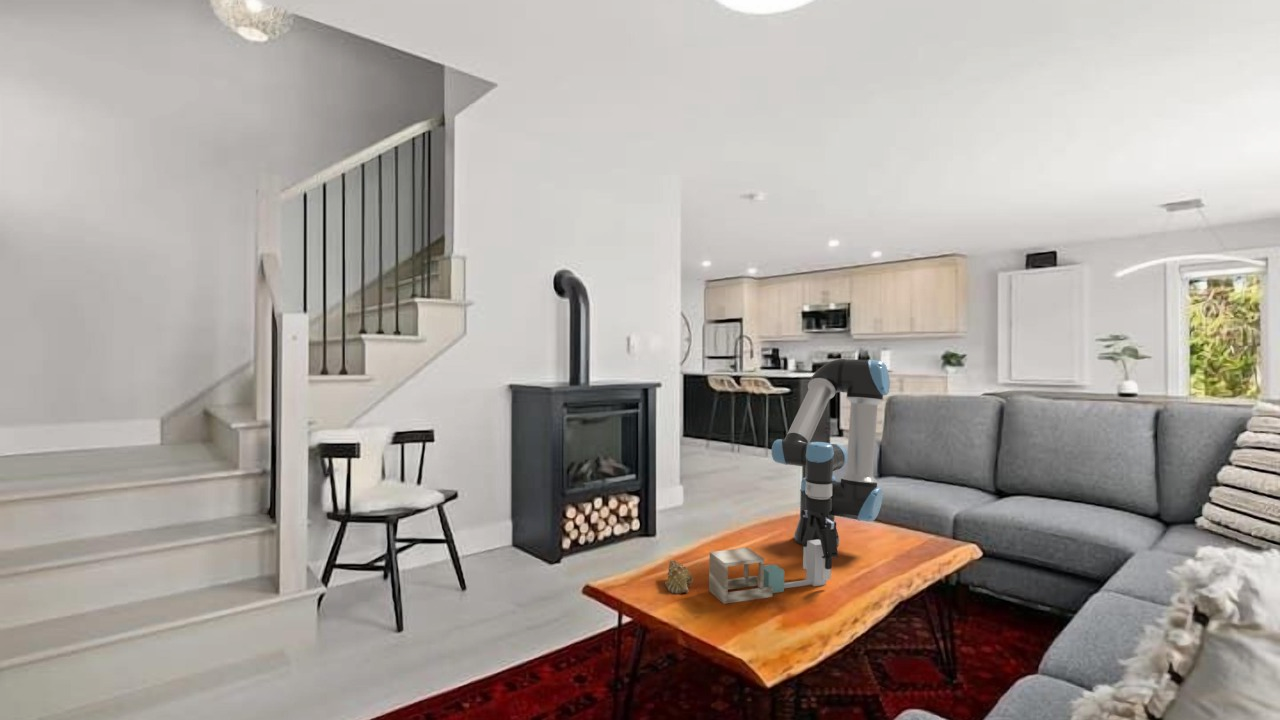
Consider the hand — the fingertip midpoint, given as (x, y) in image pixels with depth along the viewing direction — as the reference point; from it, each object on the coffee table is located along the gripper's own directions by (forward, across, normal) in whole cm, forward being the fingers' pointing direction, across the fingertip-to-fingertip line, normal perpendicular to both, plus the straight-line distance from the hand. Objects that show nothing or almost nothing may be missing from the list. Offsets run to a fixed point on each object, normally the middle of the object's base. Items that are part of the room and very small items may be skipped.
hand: (816, 573), depth 179 cm
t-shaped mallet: (+3, 0, -8) cm, 8 cm away
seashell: (+3, -11, -40) cm, 41 cm away
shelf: (+3, 0, -25) cm, 25 cm away
